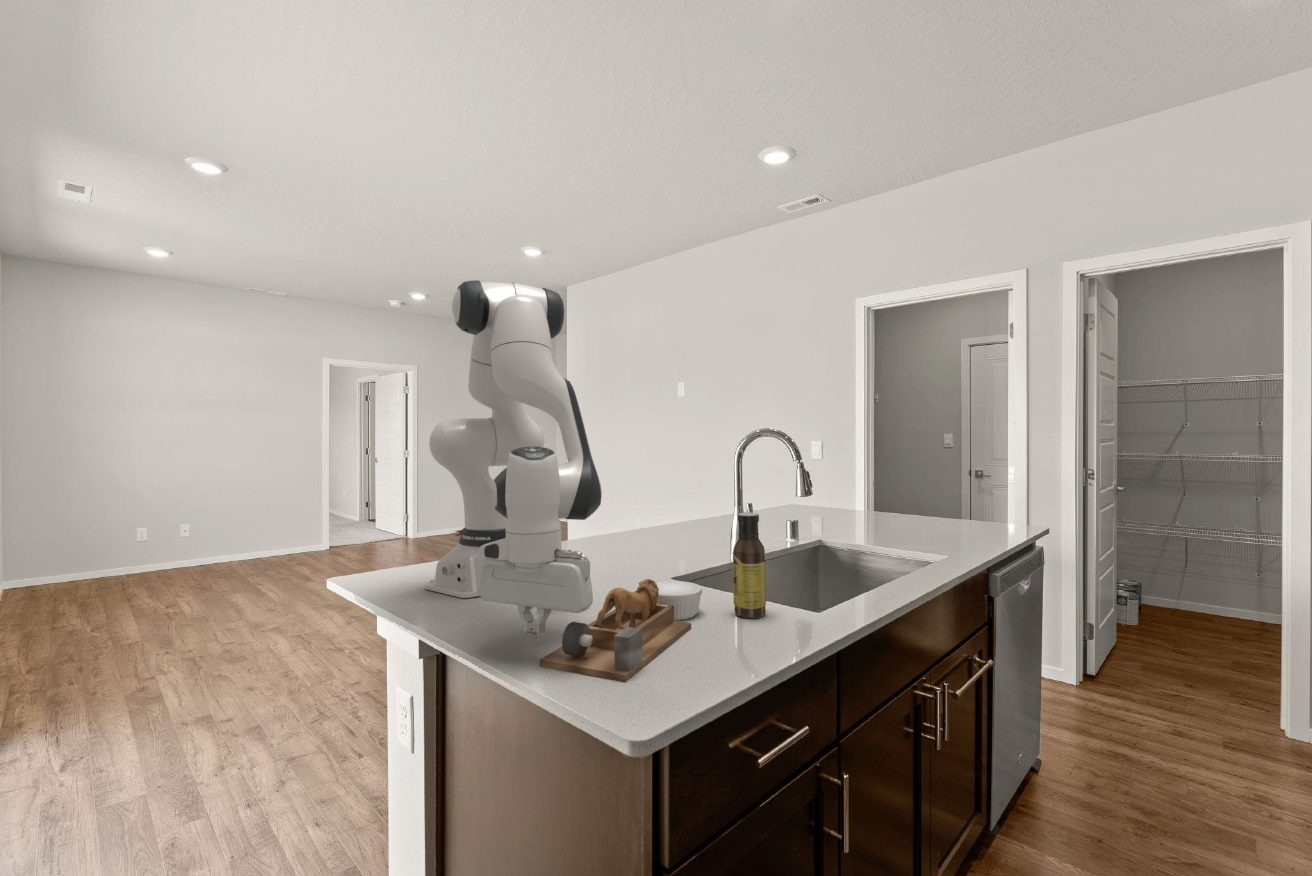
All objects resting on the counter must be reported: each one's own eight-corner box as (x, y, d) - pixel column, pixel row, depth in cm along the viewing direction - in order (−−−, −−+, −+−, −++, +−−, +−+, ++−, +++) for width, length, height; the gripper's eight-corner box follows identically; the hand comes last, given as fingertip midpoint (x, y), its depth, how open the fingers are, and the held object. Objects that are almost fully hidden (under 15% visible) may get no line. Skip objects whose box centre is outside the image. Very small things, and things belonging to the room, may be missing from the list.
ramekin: (637, 609, 126) (637, 583, 126) (687, 603, 130) (687, 578, 130) (657, 625, 116) (657, 597, 116) (711, 618, 120) (711, 591, 120)
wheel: (562, 659, 96) (561, 627, 96) (579, 648, 100) (579, 617, 100) (581, 662, 94) (580, 629, 94) (597, 651, 99) (597, 620, 99)
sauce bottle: (739, 608, 126) (738, 510, 125) (769, 612, 123) (769, 511, 123) (729, 617, 120) (728, 514, 120) (760, 621, 117) (760, 516, 117)
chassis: (539, 665, 96) (539, 627, 96) (618, 618, 120) (618, 587, 120) (625, 681, 90) (625, 640, 90) (691, 628, 114) (691, 595, 114)
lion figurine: (636, 628, 114) (643, 578, 116) (660, 632, 111) (667, 581, 114) (587, 625, 102) (595, 570, 105) (612, 630, 100) (621, 573, 102)
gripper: (599, 548, 99) (600, 635, 99) (496, 540, 108) (497, 619, 108) (578, 556, 93) (579, 647, 94) (471, 546, 102) (472, 630, 102)
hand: (534, 632), depth 101 cm, fingers closed
